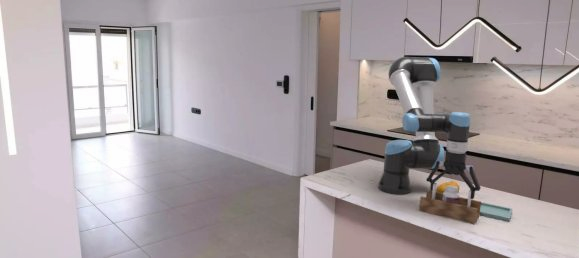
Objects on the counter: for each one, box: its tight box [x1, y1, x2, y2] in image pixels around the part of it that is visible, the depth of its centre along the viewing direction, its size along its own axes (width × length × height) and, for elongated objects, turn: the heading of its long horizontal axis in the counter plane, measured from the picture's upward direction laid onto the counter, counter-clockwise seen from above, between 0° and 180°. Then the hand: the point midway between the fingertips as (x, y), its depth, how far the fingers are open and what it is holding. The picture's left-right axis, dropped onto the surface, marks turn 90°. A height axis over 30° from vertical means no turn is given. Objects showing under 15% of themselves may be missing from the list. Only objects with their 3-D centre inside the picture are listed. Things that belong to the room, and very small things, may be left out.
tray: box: [479, 201, 513, 222], centre depth 166 cm, size 13×13×2 cm
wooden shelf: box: [418, 189, 482, 225], centre depth 164 cm, size 21×10×6 cm, turn 57°
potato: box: [436, 180, 460, 194], centre depth 182 cm, size 7×14×7 cm, turn 128°
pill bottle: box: [442, 186, 460, 204], centre depth 163 cm, size 6×6×11 cm
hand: (450, 202), depth 163 cm, fingers open, 13 cm apart
